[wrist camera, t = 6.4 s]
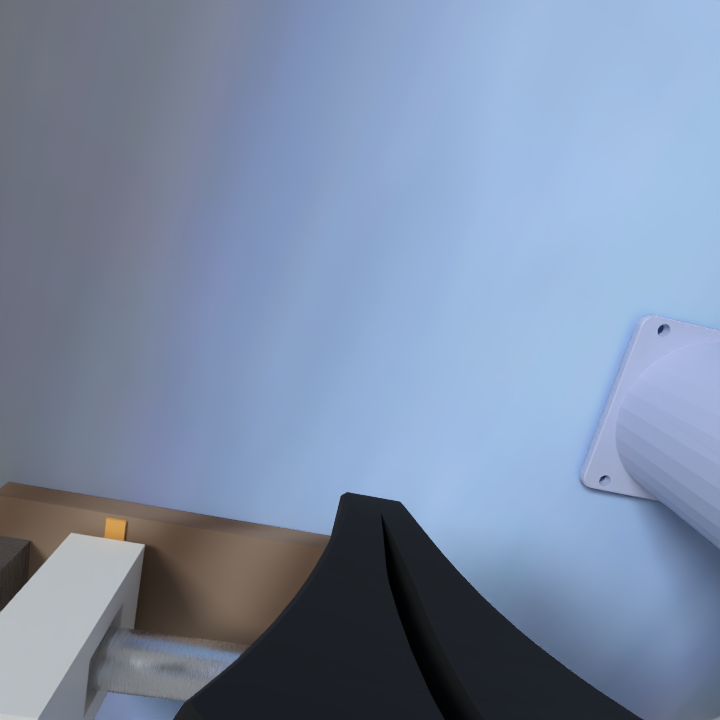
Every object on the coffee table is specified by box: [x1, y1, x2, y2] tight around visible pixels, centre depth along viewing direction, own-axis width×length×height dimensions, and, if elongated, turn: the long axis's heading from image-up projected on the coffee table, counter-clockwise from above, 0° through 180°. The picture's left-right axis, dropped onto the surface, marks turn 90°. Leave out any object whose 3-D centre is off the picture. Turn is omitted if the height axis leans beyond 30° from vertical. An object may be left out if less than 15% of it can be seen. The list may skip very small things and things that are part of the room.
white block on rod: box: [0, 533, 145, 720], centre depth 17 cm, size 3×5×7 cm, turn 167°
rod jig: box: [0, 482, 331, 702], centre depth 19 cm, size 15×7×6 cm, turn 77°
